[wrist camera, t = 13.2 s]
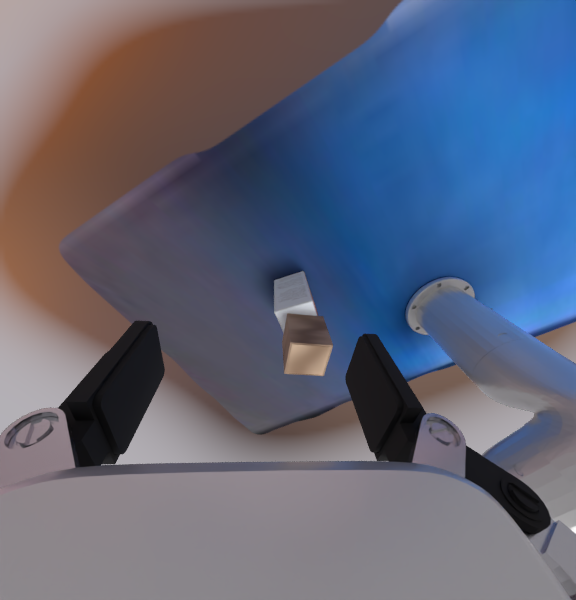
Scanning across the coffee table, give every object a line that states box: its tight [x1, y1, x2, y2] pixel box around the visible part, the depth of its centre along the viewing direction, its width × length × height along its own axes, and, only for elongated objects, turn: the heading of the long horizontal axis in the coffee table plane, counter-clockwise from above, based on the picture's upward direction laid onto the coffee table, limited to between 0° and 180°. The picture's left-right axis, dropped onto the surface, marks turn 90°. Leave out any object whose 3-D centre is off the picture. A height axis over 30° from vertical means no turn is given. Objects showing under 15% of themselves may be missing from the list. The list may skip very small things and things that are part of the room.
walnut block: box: [282, 313, 333, 376], centre depth 30 cm, size 5×5×6 cm
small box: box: [274, 271, 318, 333], centre depth 38 cm, size 8×6×10 cm
